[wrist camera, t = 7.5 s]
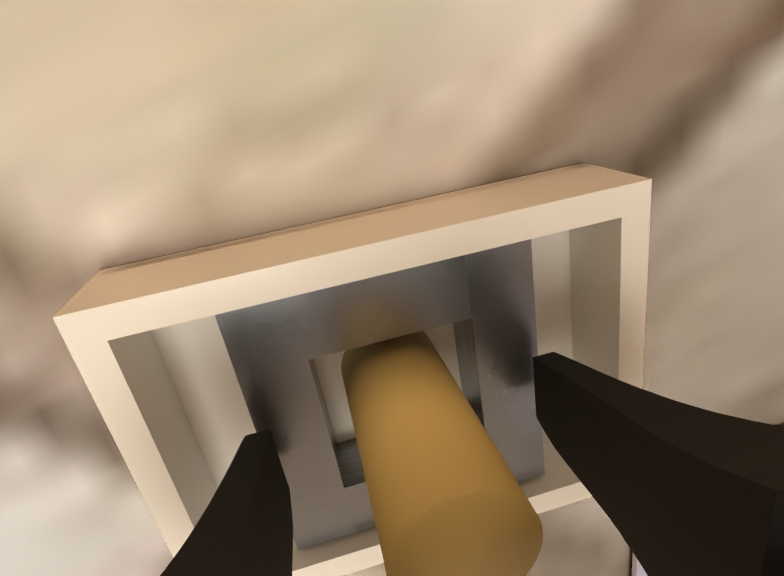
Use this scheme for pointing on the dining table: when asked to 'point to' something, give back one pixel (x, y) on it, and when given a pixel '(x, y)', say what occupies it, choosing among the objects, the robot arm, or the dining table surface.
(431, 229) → the tray
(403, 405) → the peg
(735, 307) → the dining table surface
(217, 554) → the robot arm
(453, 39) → the dining table surface
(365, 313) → the socket plate
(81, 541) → the dining table surface
